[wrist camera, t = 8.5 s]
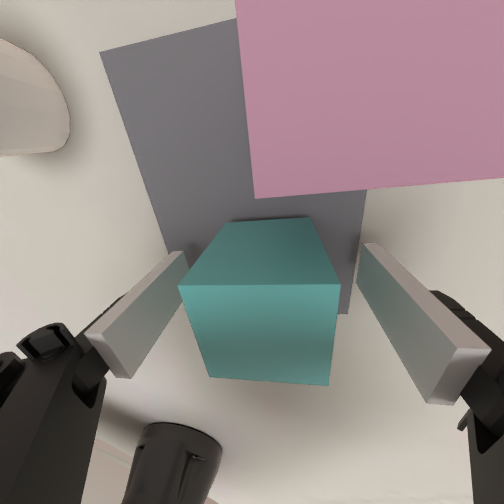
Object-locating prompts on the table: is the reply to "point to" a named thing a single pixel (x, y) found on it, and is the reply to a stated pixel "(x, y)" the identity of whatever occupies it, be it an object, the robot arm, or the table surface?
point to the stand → (311, 113)
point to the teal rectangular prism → (264, 302)
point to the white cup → (29, 105)
